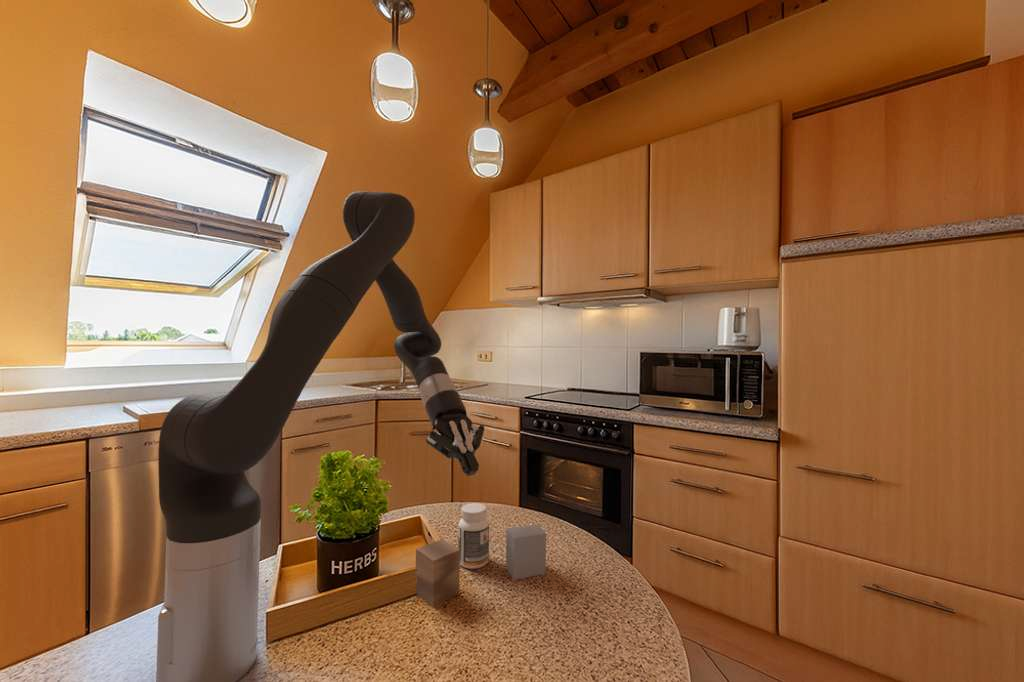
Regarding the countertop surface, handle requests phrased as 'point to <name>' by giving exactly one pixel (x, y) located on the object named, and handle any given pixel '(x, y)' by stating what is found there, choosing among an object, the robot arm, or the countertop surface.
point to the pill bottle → (473, 536)
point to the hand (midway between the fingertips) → (473, 473)
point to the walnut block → (437, 572)
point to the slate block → (525, 551)
